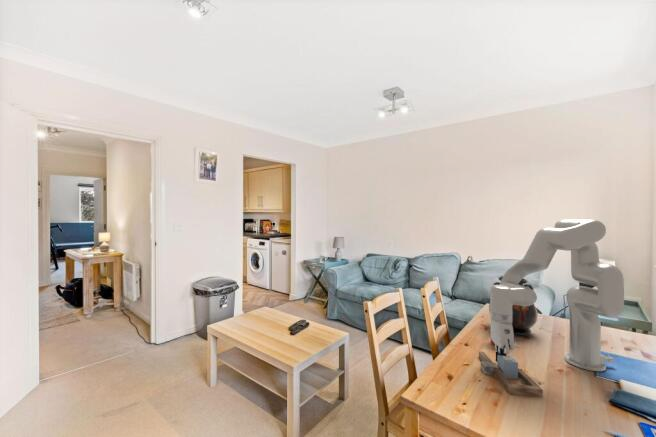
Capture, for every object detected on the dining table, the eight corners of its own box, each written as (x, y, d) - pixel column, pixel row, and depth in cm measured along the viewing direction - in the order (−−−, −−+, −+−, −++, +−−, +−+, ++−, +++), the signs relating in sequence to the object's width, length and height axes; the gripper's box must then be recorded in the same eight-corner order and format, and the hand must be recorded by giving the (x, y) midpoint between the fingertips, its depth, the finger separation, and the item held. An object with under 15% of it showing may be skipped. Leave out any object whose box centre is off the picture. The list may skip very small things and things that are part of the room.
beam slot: (504, 358, 119) (504, 351, 119) (542, 396, 93) (542, 387, 93) (471, 356, 121) (471, 349, 121) (500, 393, 95) (500, 384, 95)
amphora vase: (494, 336, 141) (495, 281, 141) (484, 321, 162) (484, 273, 162) (545, 342, 135) (545, 284, 135) (527, 326, 155) (528, 275, 155)
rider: (511, 371, 108) (511, 355, 108) (518, 378, 103) (518, 361, 103) (497, 370, 109) (497, 354, 109) (503, 377, 104) (503, 360, 104)
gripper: (521, 324, 103) (521, 373, 103) (502, 311, 118) (501, 354, 118) (499, 323, 104) (499, 372, 104) (483, 310, 119) (483, 353, 119)
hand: (500, 362), depth 111 cm, fingers closed
